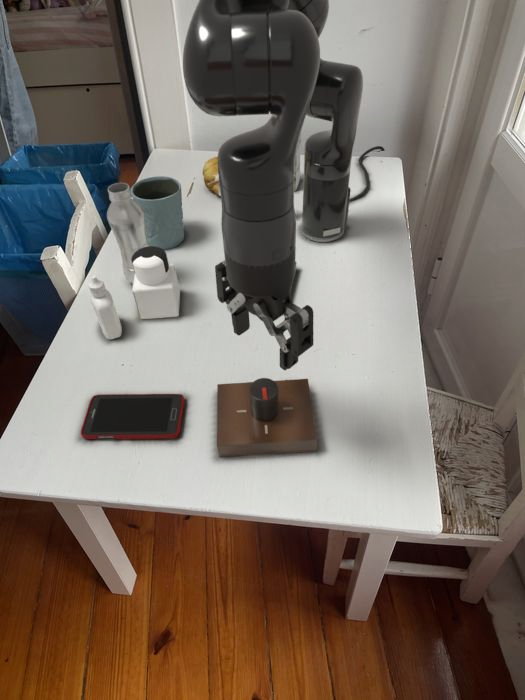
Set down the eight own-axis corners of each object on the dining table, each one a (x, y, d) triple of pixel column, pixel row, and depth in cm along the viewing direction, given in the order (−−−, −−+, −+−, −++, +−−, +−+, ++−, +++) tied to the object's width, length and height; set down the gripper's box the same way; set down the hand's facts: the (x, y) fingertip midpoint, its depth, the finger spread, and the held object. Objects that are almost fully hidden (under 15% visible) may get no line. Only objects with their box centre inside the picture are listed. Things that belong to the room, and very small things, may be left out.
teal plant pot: (134, 245, 105) (120, 195, 97) (157, 221, 112) (147, 172, 103) (174, 255, 103) (165, 204, 94) (196, 229, 109) (189, 179, 100)
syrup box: (300, 180, 123) (302, 121, 112) (296, 191, 119) (297, 132, 108) (278, 178, 124) (278, 120, 113) (273, 189, 120) (272, 130, 109)
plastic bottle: (153, 292, 94) (129, 199, 80) (121, 288, 96) (92, 195, 81) (164, 271, 99) (144, 180, 84) (133, 268, 100) (107, 177, 85)
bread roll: (239, 200, 117) (237, 168, 111) (199, 200, 118) (195, 169, 112) (243, 174, 126) (241, 144, 120) (206, 174, 126) (202, 144, 120)
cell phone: (179, 439, 71) (178, 435, 70) (80, 439, 72) (78, 436, 71) (185, 397, 76) (184, 393, 76) (93, 398, 77) (91, 394, 76)
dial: (249, 400, 72) (248, 378, 68) (276, 397, 72) (276, 375, 68) (252, 423, 69) (250, 400, 65) (280, 419, 70) (280, 397, 66)
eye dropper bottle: (128, 319, 89) (112, 267, 81) (119, 341, 86) (100, 288, 77) (105, 318, 90) (86, 266, 81) (95, 339, 86) (74, 287, 77)
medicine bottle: (143, 295, 94) (129, 243, 85) (180, 292, 94) (169, 240, 85) (140, 320, 89) (124, 267, 80) (179, 317, 89) (167, 264, 81)
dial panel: (307, 390, 77) (308, 377, 75) (316, 450, 69) (317, 438, 67) (219, 396, 77) (217, 383, 74) (218, 457, 69) (216, 445, 67)
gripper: (335, 254, 48) (325, 361, 60) (240, 202, 55) (248, 307, 67) (282, 289, 45) (282, 395, 57) (188, 229, 52) (206, 334, 64)
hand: (264, 347), depth 62 cm, fingers open, 8 cm apart
